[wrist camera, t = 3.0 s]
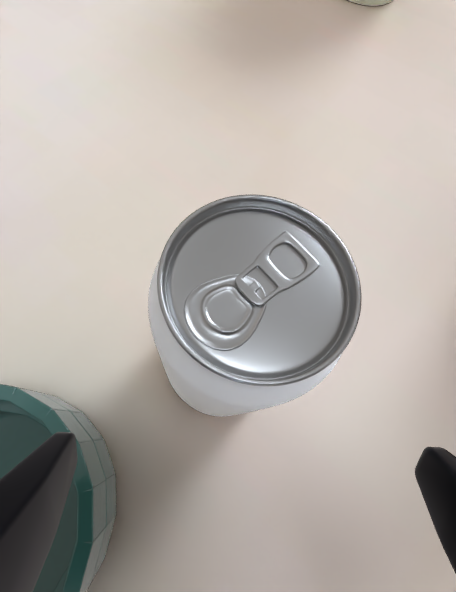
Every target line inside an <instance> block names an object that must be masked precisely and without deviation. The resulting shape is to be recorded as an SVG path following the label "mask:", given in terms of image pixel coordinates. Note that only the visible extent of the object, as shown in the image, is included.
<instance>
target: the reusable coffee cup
mask: <svg viewBox="0 0 456 592" xmlns="http://www.w3.org/2000/svg"><path fill="white" fill-rule="evenodd" d="M348 1H350V2H353V3H357V4H361V5H368V6H379V5H384V4H387V3H389V2H391V1H393V0H348Z"/></svg>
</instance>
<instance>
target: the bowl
mask: <svg viewBox="0 0 456 592" xmlns="http://www.w3.org/2000/svg"><path fill="white" fill-rule="evenodd" d="M57 432H72V433H74V434H75V437H76V447H77V465H76V469H75V472H74V476H73V479H72V482H71V486H70V489H69V492H68V496H67V499H66V502H65V506H64V509H63V512H62V516H61V519H60V522H59V526H58V529H57V532H56V535H55V538H54V540H53V543H52V546H51V548H50V551H49V553H48V555H47V558H46V560H45V563H44V565H43V568H42V570H41V573H40V575H39V577H38V580H37V582H36V585H35V587H34V590H33V592H86V591H87V589H88V588H89V586H90V584H91V582H92V580H93V579H94V577H95V575H96V573H97V571H98V570H99V568H100V566H101V564H102V562H103V561H104V558H105V556H106V552H107V548H108V544H109V541H110V537H111V533H112V529H113V525H114V521H115V517H116V474H115V470H114V467H113V464H112V461H111V458H110V455H109V452H108V449H107V446H106V443H105V441H104V440H103V437H102V436H101V435H100V433H99V432H98V431H97V429H96V428H95V427H94V426H93V424H92V423H91V422H90V421H89V419H88V418H87V417H86V416H85V414H83V413H82V412H81V411H80V410H78V409H76V408H75V407H73V406H71V405H70V404H68V403H66V402H65V401H63V400H61V399H60V398H58V397H56V396H53V395H49V394H45V393H40V392H36V391H32V390H27V389H23V388H18V387H14V386H8V385H3V384H0V479H1V478H2V477H3V476H5V475H6V474H7V473H8V472H9V471H11V470H12V469H13V468H14V467H15V466H17V465H18V464H19V463H20V462H21V461H22V460H24V459H25V458H26V457H27V456H28V455H30V454H31V453H32V452H33V451H34V450H36V449H37V448H38V447H39V446H40V445H41V444H43V443H44V442H45V441H46V440H47V439H49V438H50V437H51V436H52V435H53V434H55V433H57Z"/></svg>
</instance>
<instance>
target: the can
mask: <svg viewBox="0 0 456 592" xmlns="http://www.w3.org/2000/svg"><path fill="white" fill-rule="evenodd" d="M360 310H361V286H360V280H359V276H358V272H357V269H356V266H355V264H354V261H353V259H352V257H351V255H350V253H349V251H348V249H347V248H346V246H345V245H344V243H343V242H342V240H341V239H340V238H339V236H338V235H337V234H336V233H335V232H334V231H333V230H332V229H331V228H330V227H329V226H328V225H327V224H326V223H325V222H324V221H323V220H321V219H320V218H319V217H317V216H316V215H315V214H313V213H312V212H310V211H308V210H307V209H305V208H303V207H301V206H299V205H297V204H294V203H292V202H289V201H286V200H283V199H280V198H276V197H271V196H265V195H237V196H231V197H226V198H222V199H219V200H216V201H214V202H211V203H209V204H207V205H205V206H203V207H201V208H199V209H198V210H196V211H195V212H193V213H192V214H190V215H189V216H188V217H187V218H186V219H185V220H183V221H182V222H181V223H180V225H179V226H178V227H177V228H176V229H175V230H174V232H173V233H172V235H171V236H170V238H169V239H168V241H167V243H166V245H165V247H164V250H163V252H162V255H161V258H160V260H159V262H158V264H157V266H156V268H155V271H154V273H153V276H152V280H151V284H150V289H149V297H148V313H149V321H150V327H151V331H152V335H153V338H154V341H155V344H156V347H157V350H158V353H159V356H160V358H161V361H162V364H163V366H164V369H165V371H166V374H167V377H168V379H169V381H170V383H171V385H172V387H173V389H174V390H175V392H176V393H177V394H178V395H179V397H180V398H181V399H182V400H183V401H185V402H186V403H187V404H188V405H189V406H191V407H192V408H194V409H195V410H197V411H199V412H202V413H204V414H208V415H212V416H233V415H238V414H243V413H248V412H252V411H257V410H261V409H265V408H269V407H273V406H277V405H280V404H283V403H286V402H289V401H291V400H294V399H296V398H298V397H300V396H302V395H303V394H305V393H307V392H308V391H310V390H311V389H312V388H314V387H315V386H316V385H318V384H319V383H320V382H321V381H322V380H323V379H324V378H325V377H326V376H327V375H328V374H329V373H330V372H331V370H332V369H333V368H334V366H335V365H336V363H337V362H338V360H339V358H340V356H341V354H342V352H343V351H344V349H345V348H346V347H347V345H348V344H349V342H350V340H351V338H352V336H353V334H354V332H355V330H356V327H357V324H358V320H359V316H360Z"/></svg>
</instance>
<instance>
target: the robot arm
mask: <svg viewBox="0 0 456 592" xmlns="http://www.w3.org/2000/svg"><path fill="white" fill-rule="evenodd" d="M76 465H77V447H76V437H75V434H74V433H72V432H57V433H55V434H53V435H52V436H51V437H50V438H49V439H47V440H46V441H45V442H44V443H43V444H41V445H40V446H39V447H38V448H37V449H36V450H34V451H33V452H32V453H31V454H30V455H28V456H27V457H26V458H25V459H24V460H22V461H21V462H20V463H19V464H18V465H17V466H15V467H14V468H13V469H12V470H11V471H9V472H8V473H7V474H6V475H5V476H3V477H2V478H1V479H0V592H33V590H34V587H35V585H36V582H37V580H38V577H39V575H40V573H41V570H42V568H43V565H44V563H45V560H46V558H47V555H48V553H49V551H50V548H51V546H52V543H53V540H54V538H55V535H56V532H57V529H58V526H59V522H60V519H61V516H62V512H63V509H64V506H65V502H66V499H67V496H68V492H69V489H70V486H71V482H72V479H73V476H74V472H75V469H76ZM415 475H416V479H417V482H418V485H419V487H420V490H421V492H422V495H423V498H424V500H425V503H426V505H427V508H428V511H429V513H430V516H431V519H432V521H433V524H434V526H435V529H436V532H437V534H438V536H439V539H440V541H441V543H442V546H443V548H444V550H445V552H446V554H447V556H448V558H449V561H450V563H451V565H452V567H453V569H454V571H455V573H456V457H455V456H454V455H452V454H451V453H450V452H448V451H447V450H445V449H443V448H440V447H427V448H425V449H424V451H423V453H422V455H421V457H420V459H419V461H418V463H417V466H416V468H415Z"/></svg>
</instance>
